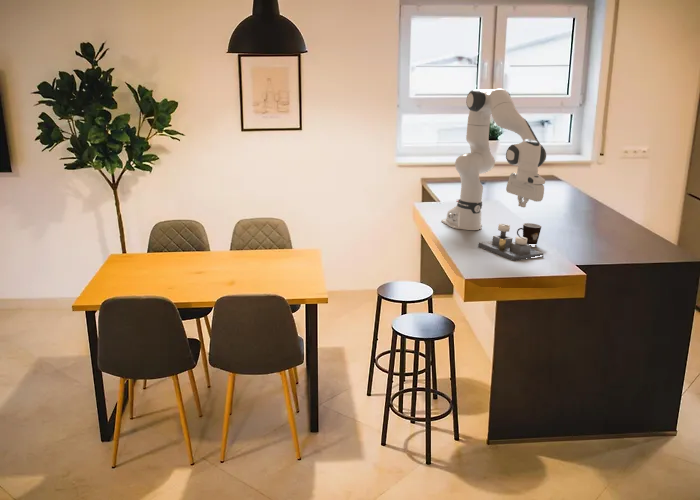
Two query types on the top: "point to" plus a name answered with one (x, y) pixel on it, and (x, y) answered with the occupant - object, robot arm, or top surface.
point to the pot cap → (502, 243)
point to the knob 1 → (503, 229)
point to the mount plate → (510, 249)
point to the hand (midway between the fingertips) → (521, 206)
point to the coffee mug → (530, 232)
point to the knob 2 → (521, 240)
